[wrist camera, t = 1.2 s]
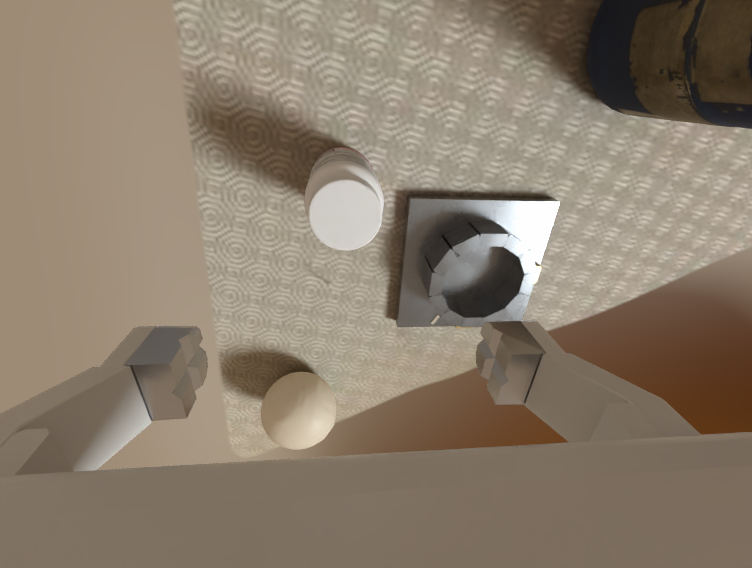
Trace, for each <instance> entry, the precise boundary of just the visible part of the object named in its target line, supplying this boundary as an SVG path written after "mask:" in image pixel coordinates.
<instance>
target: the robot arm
mask: <svg viewBox="0 0 752 568" xmlns="http://www.w3.org/2000/svg"><path fill="white" fill-rule="evenodd" d="M481 335H482V337H483V338H484V339H483V340H482V341H481V342H480V343H479V344H478V345H477V350H476V364H477V367H478V370H479V372H480V374H481V376H483V377H484V378H485V379H487V380H488V385H487V388H488V390H489V392H490V394H491V396H492V398H493V400H494V402H495V404H496V405H501V404H525V406H526V407H527V408H528V409H529V410H531V411H532V412H533V413H534V414H535V415H537V416H538V417H539V418H540V419H542V420H543V421H544V422H545V423H546V424H548V425H549V426H550V427H551V428H553V429H554V430H555V431H556V432H558V433H559V434H560V435H561V436H562V437H563V438H565V439H566V440H567V441H568V442H570V443H556V444H540V445H524V446H507V447H488V448H470V449H454V450H435V451H417V452H400V453H383V454H367V455H350V456H332V457H316V458H299V459H282V460H266V461H247V462H230V463H213V464H196V465H180V466H161V467H144V468H129V469H110V470H97V469H98V468H99V467H100V466H101V465H103V464H104V463H105V462H106V461H107V460H108V459H110V458H111V457H112V456H113V455H114V454H115V453H117V452H118V451H119V450H120V449H121V448H122V447H124V446H125V445H126V444H127V443H128V442H129V441H131V439H133V438H134V437H135V436H136V435H137V434H139V433H140V432H141V431H142V430H143V429H144V428H146V427H147V426H148V425H149V424H150V423H151V421H155V420H168V419H183V418H187V417H188V415H189V413H190V411H191V409H192V406H193V404H194V402H195V400H196V395H195V390H197V389H198V388H199V387H201V386H202V385H203V383H204V380H205V378H206V374H207V368H208V362H207V356H206V352H205V351H204V350H203V349H202V348H201V347H200V346H199V344H200V343H201V341H202V339H203V338H202V335H201V331H200V329H199V328H198V327H196V326H158V327H157V326H141V327H137V328H134V329H133V330H132V331H131V332H130V333H129V334H128V335H127V337H126V338H125V339H124V340H123V341H122V342H121V343H120V345H119V346H118V347H117V348H116V349H115V350H114V351H113V352H112V353H111V355H110V356H109V357H108V358H107V359H106V360H105V361H104V363H103V364H102V365H101V366H100V367H92V368H90V369H88V370H86V371H84V372H82V373H80V374H78V375H76V376H75V377H72V378H70V379H68V380H66V381H64V382H62V383H60V384H58V385H56V386H54V387H52V388H50V389H48V390H46V391H44V392H42V393H40V394H39V395H37V396H35V397H32V398H30V399H29V400H26V401H25V402H22V403H20V404H18V405H17V406H15V407H13V408H11V409H9V410H7V411H5V412H3V413H1V414H0V568H752V432H745V433H744V432H743V433H727V434H711V435H701V434H699V433H698V432H697V431H696V430H695V429H694V428H693V427H692V426H691V425H690V424H689V423H688V422H687V421H685V419H683V418H682V417H681V416H680V415H679V414H678V413H677V412H676V411H675V410H674V409H673V408H672V407H671V406H670V405H669V404H667V403H666V402H665V401H664V400H663V399H661V398H659V397H657V396H655V395H653V394H651V393H649V392H647V391H645V390H643V389H641V388H639V387H637V386H635V385H633V384H631V383H629V382H627V381H625V380H623V379H621V378H619V377H617V376H615V375H613V374H611V373H609V372H607V371H605V370H603V369H601V368H599V367H597V366H595V365H593V364H591V363H589V362H587V361H585V360H583V359H581V358H579V357H577V356H575V355H573V354H566V353H565V352H564V351H563V350H562V349H561V348H560V346H559V345H558V344H557V343H556V342H555V341H554V340H553V339H552V337H550V335H549V334H548V333H547V332H546V331H545V330H544V328H543V327H542V326H541V325H540V324H539V323H538V322H537V321H535V320H517V321H496V322H484V324H483V326H482V329H481Z"/></svg>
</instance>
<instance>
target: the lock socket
mask: <svg viewBox="0 0 752 568" xmlns="http://www.w3.org/2000/svg"><path fill="white" fill-rule="evenodd" d="M559 204H560V202H559V201H557V200H556V199H554V198H520V197H477V196H434V195H408V199H407V209H406V220H405V230H404V240H403V251H402V261H401V271H400V282H399V292H398V303H397V313H396V324H397V327H431V326H455V327H456V328H473V327H482V326H483V324H484V322H496V321H517V320H522V319H523V316H524V313H525V310H526V306H527V303H528V300H529V297H530V294H531V291H532V288H533V285H534V283H536V282H537V279H538V276H539V273H540V270H541V266H540V263H541V260H542V257H543V254H544V251H545V247H546V244H547V241H548V238H549V235H550V232H551V229H552V226H553V223H554V220H555V216H556V213H557V210H558V207H559Z"/></svg>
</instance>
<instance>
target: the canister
mask: <svg viewBox="0 0 752 568" xmlns="http://www.w3.org/2000/svg"><path fill="white" fill-rule="evenodd" d="M587 68H588V74H589V78H590V81H591V84H592V87H593V89H594V91H595V93H596V94H597V96H598V97H599V99H600V100H601V101H602V102H603V103H604V104H606V105H607V106H608V107H610V108H611V109H613V110H615V111H618V112H620V113H623V114H627V115H632V116H640V117H649V118H657V119H665V120H672V121H681V122H691V123H700V124H707V125H716V126H727V127H741V128H750V129H752V0H603V2H602V4H601V6H600V8H599V10H598V13H597V15H596V18H595V20H594V23H593V26H592V29H591V33H590V38H589V44H588V51H587Z"/></svg>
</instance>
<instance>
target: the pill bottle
mask: <svg viewBox="0 0 752 568" xmlns="http://www.w3.org/2000/svg"><path fill="white" fill-rule="evenodd" d="M304 203H305V210H306V213H307V216H308V219H309V224H310V227H311V229H312V231H313V233H314V234H315V236H316V237H317V238H318V239H319V240H320V241H321V242H322V243H324V244H325V245H327V246H329V247H331V248H334V249H337V250H354V249H358V248H360V247H362V246H364V245H366V244H367V243H369V242H370V241H371V240H372V239H373V238H374V237H375V235H376V234H377V233H378V231H379V228H380V226H381V222H382V212H383V206H384V198H383V193H382V189H381V186H380V184H379V182H378V179H377V177H376V175H375V173H374V171H373V168H372V166H371V165H370V163H369V161H368V160H367V159H366V158H365V157H364V156H363V155H362V154H361V153H359V152H358V151H356V150H353V149H351V148H346V147H337V148H332V149H330V150H328V151H326V152H324V153H323V154H321V155H320V156H319V157H318V158H317V160H316V161H315V163H314V164H313V167H312V169H311V173H310V177H309V180H308V183H307V187H306V191H305V198H304Z"/></svg>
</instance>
